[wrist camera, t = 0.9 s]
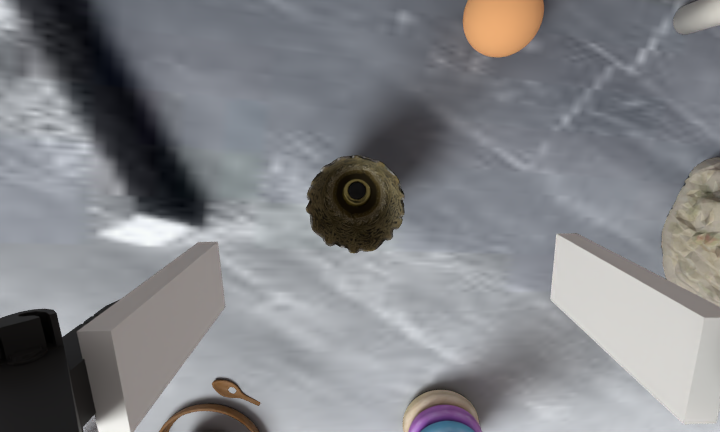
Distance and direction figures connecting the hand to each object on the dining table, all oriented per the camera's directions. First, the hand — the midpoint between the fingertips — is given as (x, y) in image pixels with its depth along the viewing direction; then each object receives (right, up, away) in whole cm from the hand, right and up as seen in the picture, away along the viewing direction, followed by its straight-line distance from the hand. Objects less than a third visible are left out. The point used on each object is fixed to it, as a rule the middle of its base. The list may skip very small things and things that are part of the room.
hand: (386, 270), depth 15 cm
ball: (+10, +18, +16) cm, 26 cm away
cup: (-1, +5, +22) cm, 22 cm away
